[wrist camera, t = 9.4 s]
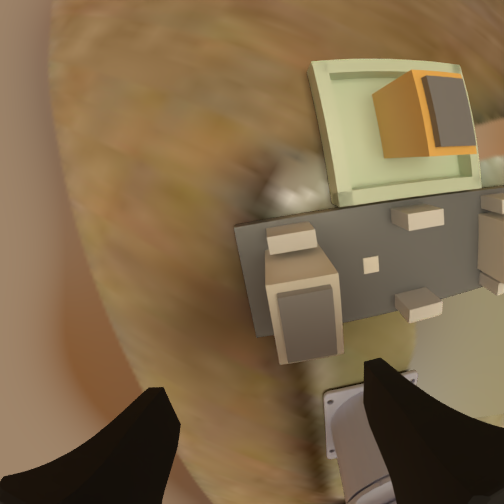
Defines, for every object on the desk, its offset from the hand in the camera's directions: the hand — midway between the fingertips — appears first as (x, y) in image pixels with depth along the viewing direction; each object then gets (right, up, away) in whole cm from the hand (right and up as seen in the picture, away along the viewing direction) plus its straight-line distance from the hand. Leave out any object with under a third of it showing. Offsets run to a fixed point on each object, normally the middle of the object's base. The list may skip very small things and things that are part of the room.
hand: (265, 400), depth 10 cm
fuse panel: (+10, +5, +9) cm, 14 cm away
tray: (+9, +13, +6) cm, 17 cm away
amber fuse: (+8, +13, +6) cm, 17 cm away
